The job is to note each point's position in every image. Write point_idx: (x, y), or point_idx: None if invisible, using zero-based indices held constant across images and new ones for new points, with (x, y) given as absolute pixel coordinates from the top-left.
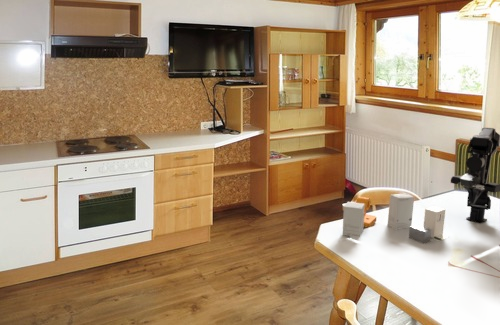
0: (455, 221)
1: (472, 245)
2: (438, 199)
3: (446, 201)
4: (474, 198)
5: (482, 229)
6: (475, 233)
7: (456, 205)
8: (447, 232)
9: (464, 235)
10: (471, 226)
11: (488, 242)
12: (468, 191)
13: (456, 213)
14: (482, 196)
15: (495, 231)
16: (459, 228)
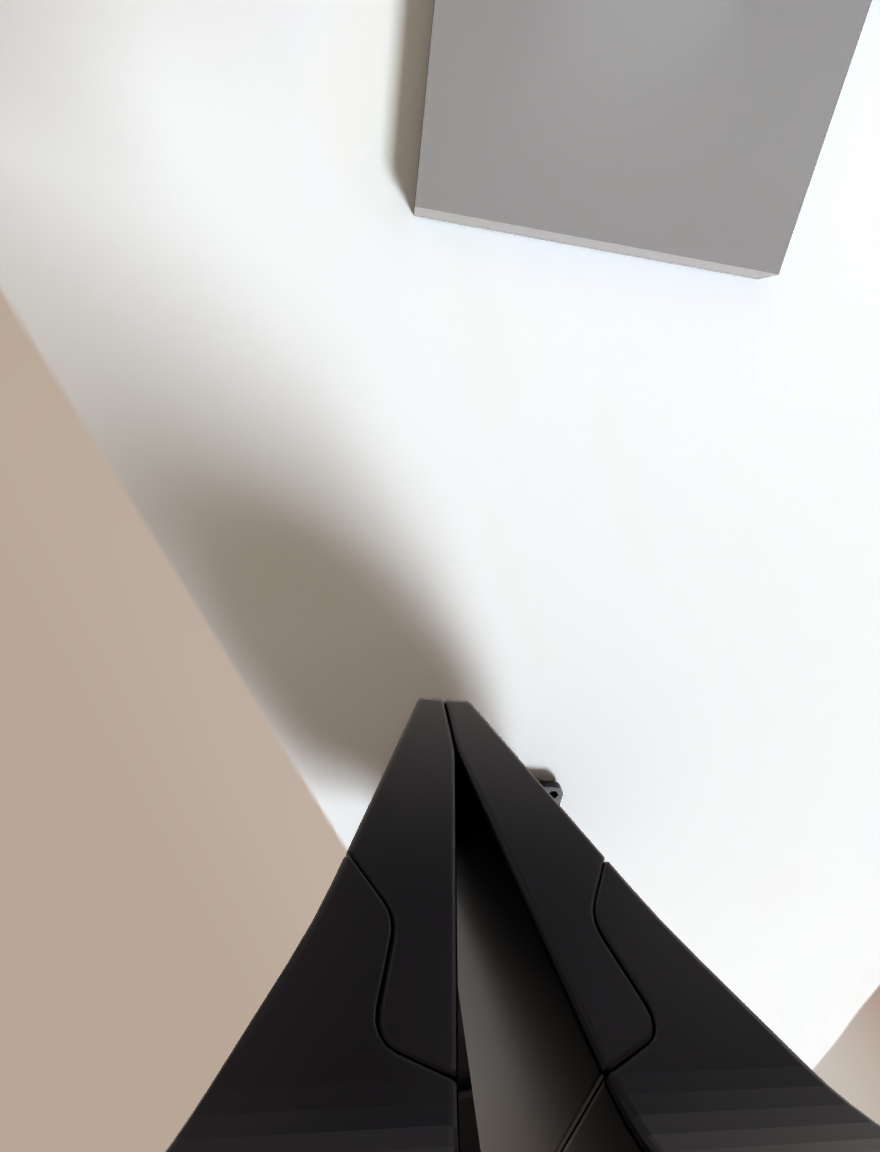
0: (613, 673)
1: (158, 29)
2: (840, 977)
3: (783, 980)
4: (382, 807)
5: (355, 664)
6: (348, 511)
7: (704, 964)
8: (578, 287)
9: (399, 351)
10: (458, 662)
11: (114, 341)
12: (763, 1069)
13: (661, 838)
14: (471, 1117)
15: (254, 700)
16: (521, 526)
